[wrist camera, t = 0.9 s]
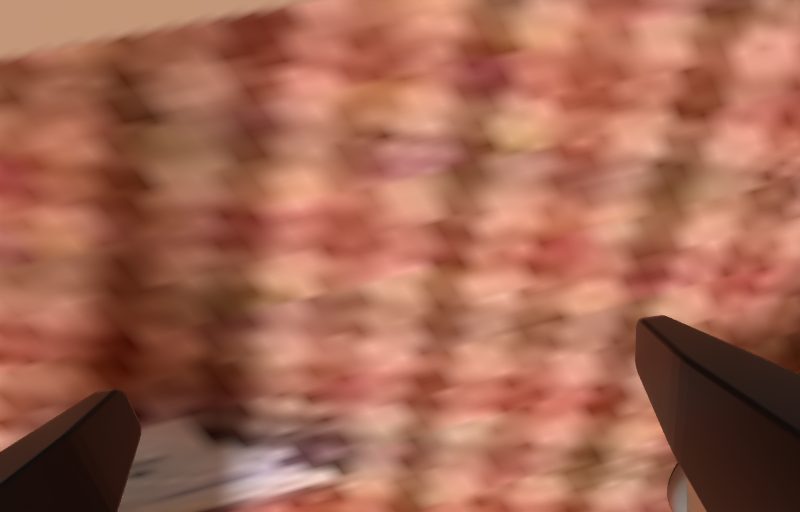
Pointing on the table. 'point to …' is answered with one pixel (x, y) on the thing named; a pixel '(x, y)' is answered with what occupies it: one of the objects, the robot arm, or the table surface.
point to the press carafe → (682, 494)
